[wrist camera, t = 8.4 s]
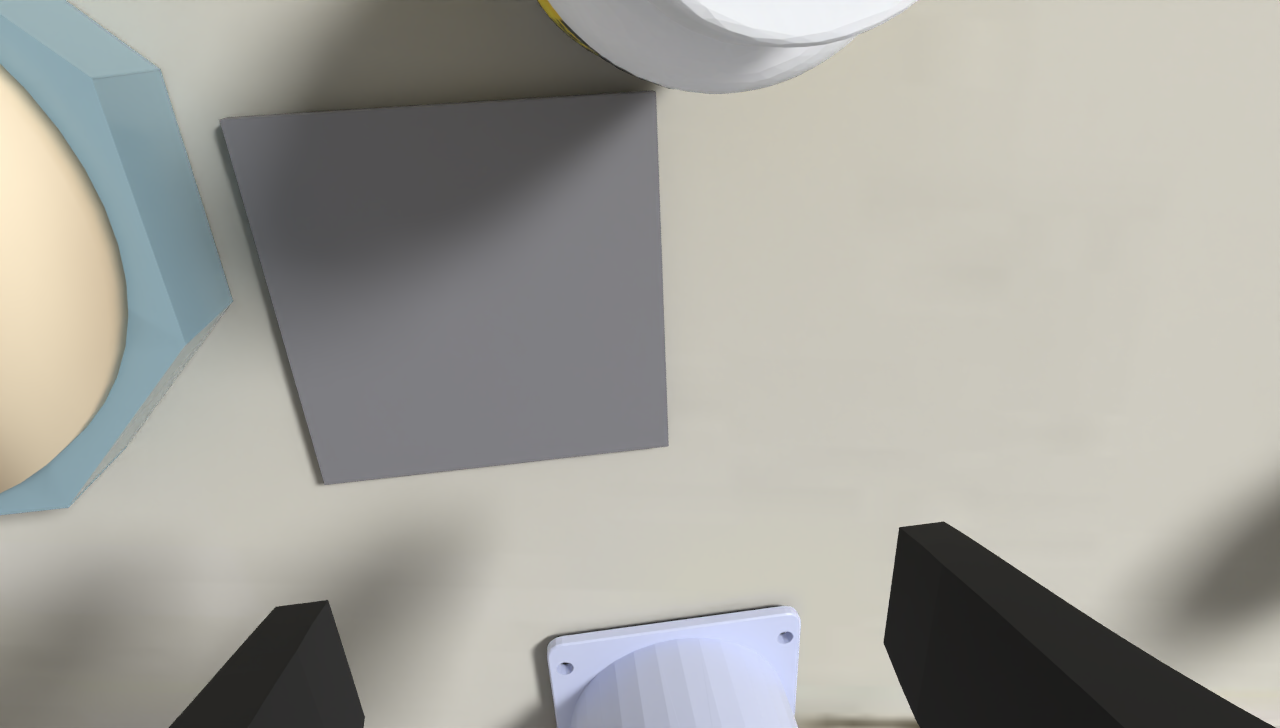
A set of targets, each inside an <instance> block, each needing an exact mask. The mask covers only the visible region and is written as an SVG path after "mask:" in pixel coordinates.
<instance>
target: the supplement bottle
mask: <svg viewBox="0 0 1280 728" xmlns="http://www.w3.org/2000/svg"><path fill="white" fill-rule="evenodd" d="M537 1H538V3H539V4H540V6H541V7H542V8H543V10H544V11H545V12H546V13H547V15H548V16H549V17H550V18H551V20H552V21H553V22H554V23H555V24H556V25H557V26H558V27H559V28H560V29H561V30H562V31H564V32H565V33H566V34H567V35H568V36H569V37H570V38H572V39H573V40H574V41H576V42H577V43H579V44H580V45H582V46H583V47H584V48H586V49H587V50H588V51H590V52H593V53H594V54H596V55H598V56H600V57H601V58H603V59H604V60H606V61H607V62H609V63H611V64H612V65H614V66H615V67H617V68H618V69H620V70H622V71H625V72H627V73H629V74H631V75H634V76H637V77H639V78H641V79H643V80H647V81H650V82H653V83H655V84H657V85H660V86H664V87H666V88H668V89H679V90H683V91H688V92H698V93H707V94H725V93H736V92H744V91H750V90H756V89H761V88H765V87H768V86H772V85H775V84H778V83H781V82H784V81H786V80H789V79H792V78H794V77H797V76H799V75H801V74H803V73H804V72H806V71H808V70H810V69H812V68H814V67H815V66H817V65H819V64H821V63H822V62H824V61H826V60H827V59H828V58H830V57H831V56H833V55H834V54H835V53H837V52H838V51H839V50H841V49H842V48H843V47H845V46H846V45H847V44H848V43H850V42H851V41H852V40H853V39H854V38H855V37H856V36H857V35H859V34H861V33H863V32H866V31H868V30H871V29H873V28H875V27H877V26H879V25H881V24H883V23H885V22H887V21H888V20H890V19H892V18H893V17H895V16H897V15H898V14H900V13H902V12H903V11H905V10H906V9H907V8H909V7H910V6H911V5H913V4H914V3H915V2H917V1H918V0H537Z"/></svg>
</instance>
